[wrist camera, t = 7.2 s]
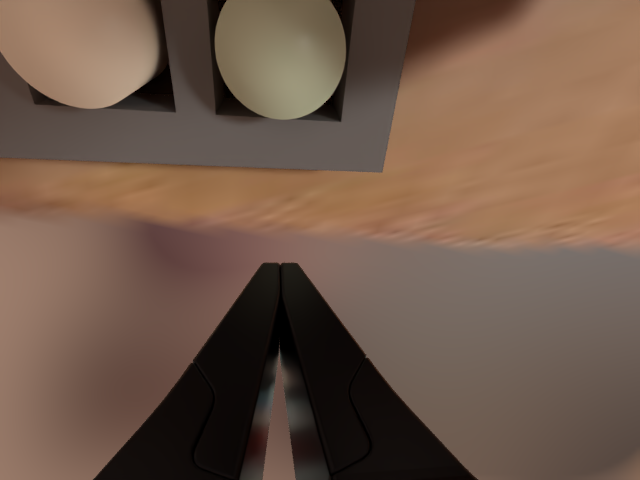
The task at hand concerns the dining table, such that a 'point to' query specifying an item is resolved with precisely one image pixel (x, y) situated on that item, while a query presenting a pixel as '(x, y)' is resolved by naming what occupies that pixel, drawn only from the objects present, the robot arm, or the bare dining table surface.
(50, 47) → the beige domed piece
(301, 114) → the pale green egg
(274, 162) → the egg tray
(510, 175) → the dining table surface
